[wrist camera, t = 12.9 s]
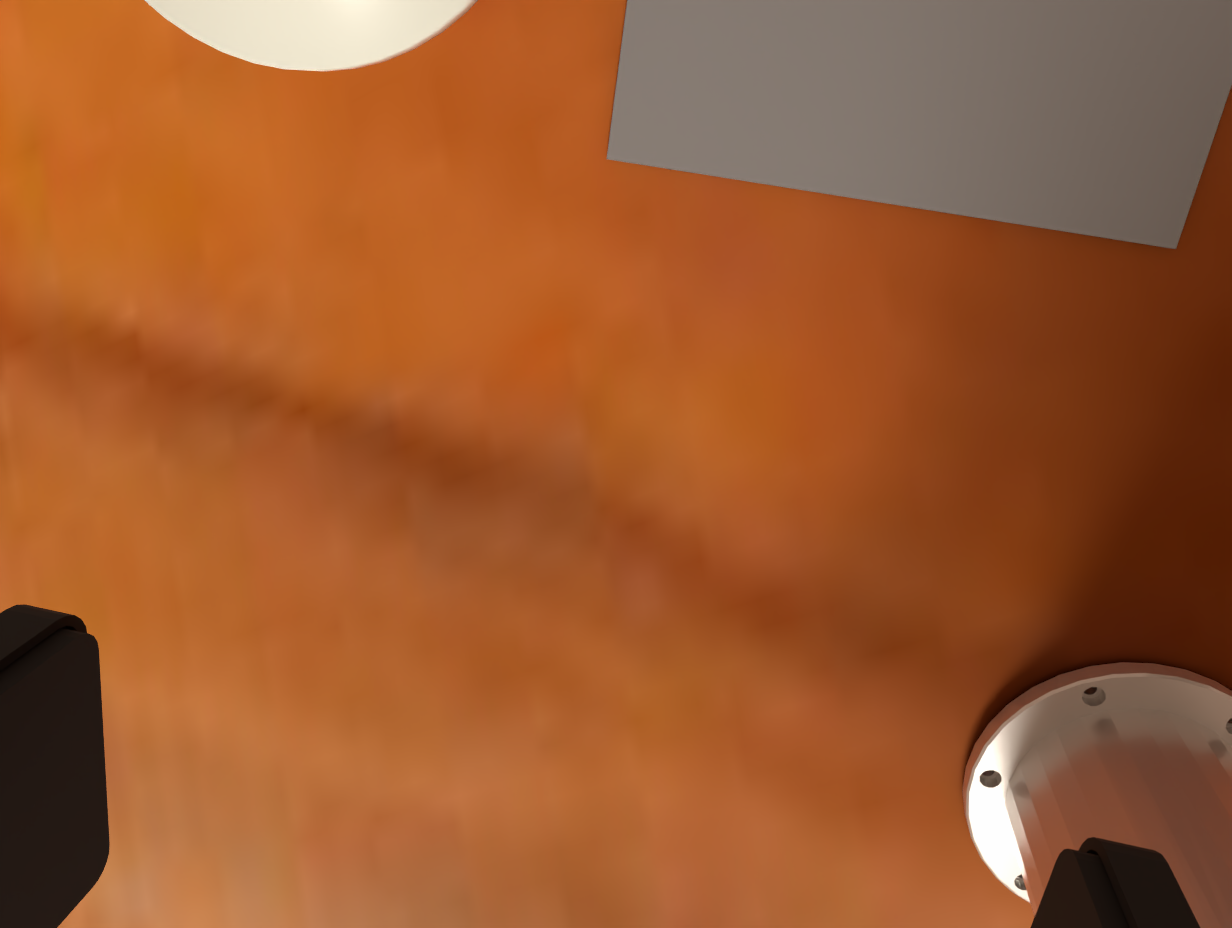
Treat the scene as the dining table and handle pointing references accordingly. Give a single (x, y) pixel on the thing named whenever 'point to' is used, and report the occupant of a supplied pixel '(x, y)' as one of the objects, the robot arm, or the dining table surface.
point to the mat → (937, 103)
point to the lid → (313, 28)
